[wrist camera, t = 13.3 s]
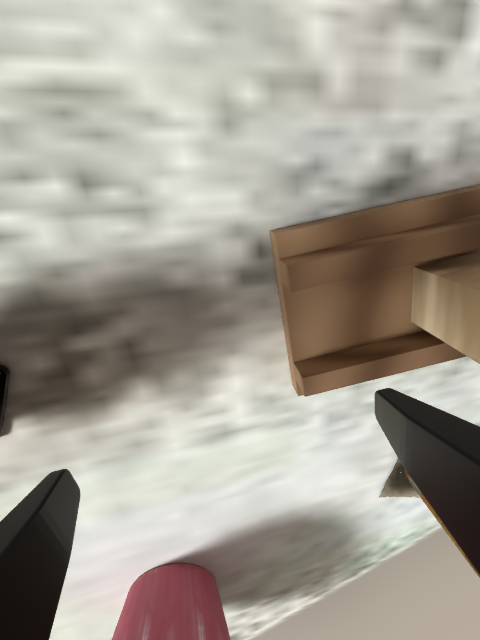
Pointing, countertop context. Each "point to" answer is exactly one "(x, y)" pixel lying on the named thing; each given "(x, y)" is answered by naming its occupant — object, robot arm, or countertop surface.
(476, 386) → the countertop surface
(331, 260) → the groove sill
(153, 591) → the plant pot
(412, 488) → the condiment
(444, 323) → the tan wooden block
